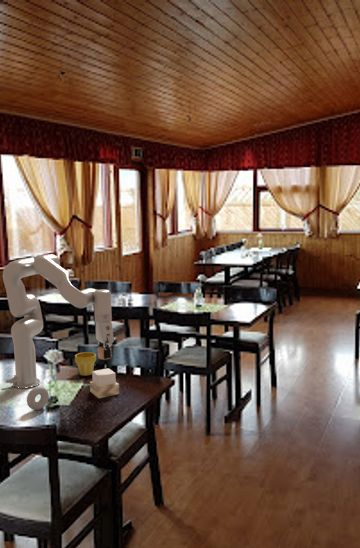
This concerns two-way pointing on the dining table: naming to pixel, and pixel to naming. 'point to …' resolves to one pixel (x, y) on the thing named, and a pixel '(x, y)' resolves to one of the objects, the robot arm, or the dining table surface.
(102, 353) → the terracotta cylinder
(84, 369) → the plant pot
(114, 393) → the tower base block
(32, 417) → the dining table surface
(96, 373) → the tower top block
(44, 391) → the donut
